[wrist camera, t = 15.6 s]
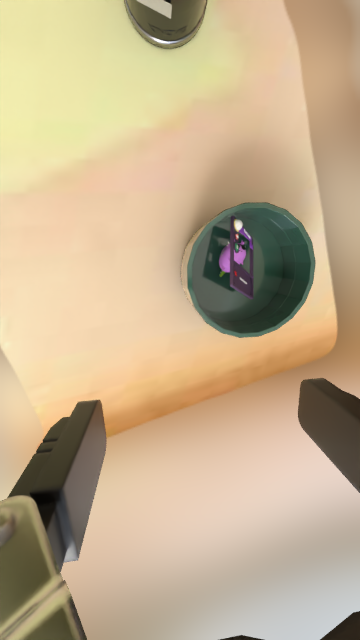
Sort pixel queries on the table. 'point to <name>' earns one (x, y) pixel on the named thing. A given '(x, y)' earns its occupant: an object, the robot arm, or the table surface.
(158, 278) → the table surface
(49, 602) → the robot arm
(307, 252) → the bowl
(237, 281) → the game card
